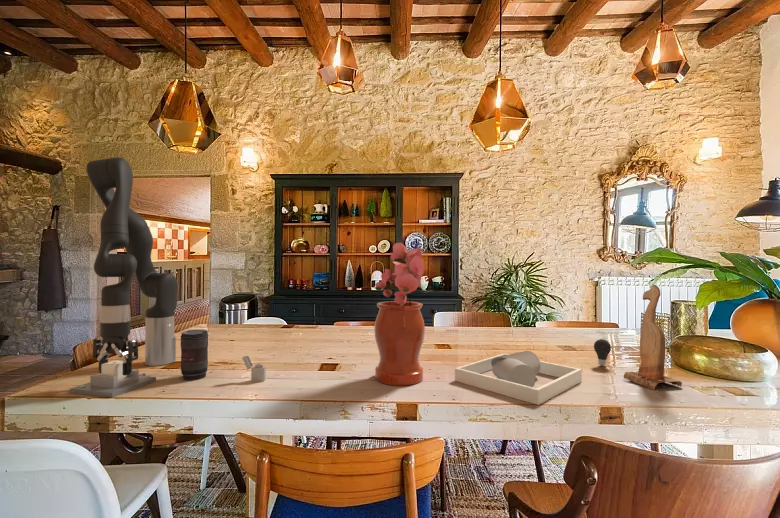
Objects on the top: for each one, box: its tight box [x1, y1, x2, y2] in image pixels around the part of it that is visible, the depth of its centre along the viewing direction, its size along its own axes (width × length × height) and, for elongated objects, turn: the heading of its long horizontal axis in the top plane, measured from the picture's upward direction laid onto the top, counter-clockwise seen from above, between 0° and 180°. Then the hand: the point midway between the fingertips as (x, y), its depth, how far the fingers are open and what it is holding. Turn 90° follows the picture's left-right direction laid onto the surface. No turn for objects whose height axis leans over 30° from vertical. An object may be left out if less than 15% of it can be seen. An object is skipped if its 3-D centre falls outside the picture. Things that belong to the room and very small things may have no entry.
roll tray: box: [454, 353, 583, 406], centre depth 125 cm, size 30×28×4 cm
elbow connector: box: [491, 350, 541, 388], centre depth 125 cm, size 18×11×20 cm
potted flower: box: [373, 242, 434, 387], centre depth 128 cm, size 19×25×45 cm
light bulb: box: [593, 338, 612, 367], centre depth 144 cm, size 6×6×10 cm
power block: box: [69, 368, 157, 398], centre depth 118 cm, size 18×15×4 cm
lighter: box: [242, 354, 267, 383], centre depth 124 cm, size 7×2×8 cm, turn 86°
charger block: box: [100, 360, 127, 381], centre depth 117 cm, size 4×4×6 cm
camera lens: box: [180, 329, 209, 381], centre depth 126 cm, size 8×8×15 cm
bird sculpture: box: [623, 284, 683, 390], centre depth 124 cm, size 11×12×32 cm
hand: (115, 373), depth 117 cm, fingers open, 8 cm apart
